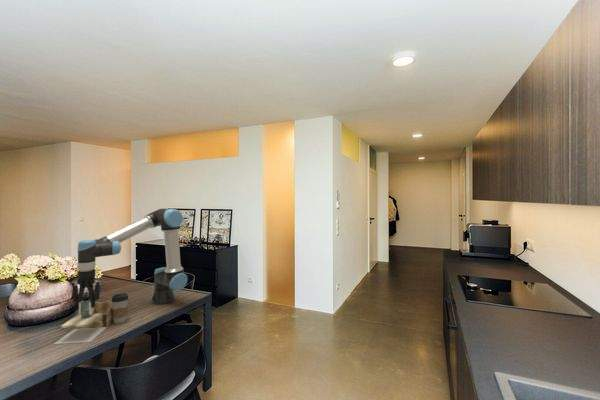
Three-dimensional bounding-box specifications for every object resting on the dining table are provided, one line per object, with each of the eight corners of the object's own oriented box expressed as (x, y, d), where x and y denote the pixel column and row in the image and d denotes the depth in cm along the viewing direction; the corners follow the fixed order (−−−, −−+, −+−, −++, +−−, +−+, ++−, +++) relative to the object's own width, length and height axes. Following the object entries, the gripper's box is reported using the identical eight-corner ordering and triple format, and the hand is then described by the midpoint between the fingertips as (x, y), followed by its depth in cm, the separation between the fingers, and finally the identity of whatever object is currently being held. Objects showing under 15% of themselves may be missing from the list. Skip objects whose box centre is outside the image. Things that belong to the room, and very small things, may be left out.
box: (119, 315, 174) (119, 301, 174) (106, 327, 158) (106, 311, 158) (92, 316, 171) (92, 302, 171) (76, 328, 155) (76, 313, 155)
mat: (106, 327, 157) (106, 327, 157) (90, 342, 141) (90, 341, 141) (74, 329, 154) (74, 329, 154) (54, 344, 138) (54, 343, 138)
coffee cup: (110, 325, 160) (110, 298, 160) (112, 320, 167) (112, 294, 167) (127, 323, 163) (127, 296, 163) (128, 317, 171) (128, 292, 171)
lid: (102, 315, 156) (102, 298, 156) (88, 326, 142) (88, 308, 142) (77, 316, 154) (78, 299, 154) (60, 327, 140) (61, 309, 140)
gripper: (107, 267, 156) (107, 310, 156) (72, 268, 153) (72, 312, 153) (100, 270, 149) (100, 315, 149) (63, 272, 146) (63, 317, 146)
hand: (86, 313), depth 151 cm, fingers closed on lid, 4 cm apart
